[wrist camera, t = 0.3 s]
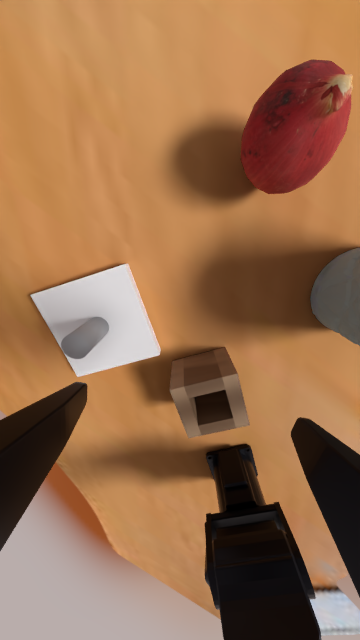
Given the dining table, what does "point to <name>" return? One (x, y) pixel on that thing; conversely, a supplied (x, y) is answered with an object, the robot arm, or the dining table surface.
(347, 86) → the onion
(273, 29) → the dining table surface
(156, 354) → the post base
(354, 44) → the dining table surface
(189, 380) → the collar
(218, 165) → the dining table surface
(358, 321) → the grey-blue tapered cup
